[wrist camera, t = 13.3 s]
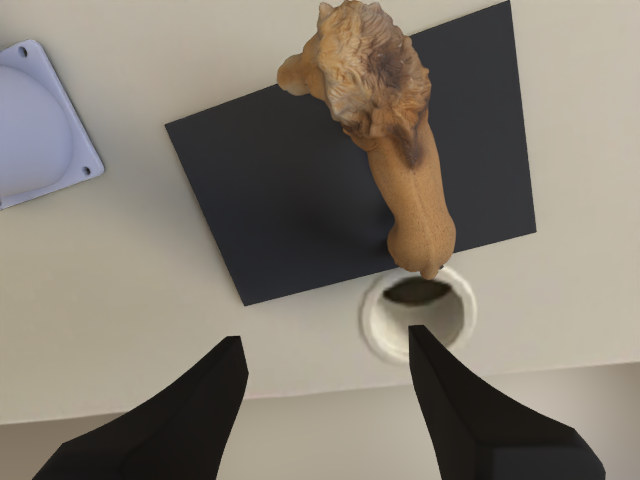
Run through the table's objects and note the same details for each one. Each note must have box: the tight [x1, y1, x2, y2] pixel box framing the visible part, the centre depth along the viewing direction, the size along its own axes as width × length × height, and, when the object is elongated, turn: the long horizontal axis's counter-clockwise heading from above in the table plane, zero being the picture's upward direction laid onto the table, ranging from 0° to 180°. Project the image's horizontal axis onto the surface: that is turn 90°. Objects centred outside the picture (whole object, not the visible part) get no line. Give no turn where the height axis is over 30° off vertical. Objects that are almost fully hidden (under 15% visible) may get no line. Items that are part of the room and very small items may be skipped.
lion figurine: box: [277, 0, 456, 279], centre depth 16 cm, size 15×5×9 cm, turn 31°
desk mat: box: [165, 0, 536, 306], centre depth 21 cm, size 20×13×1 cm, turn 108°
